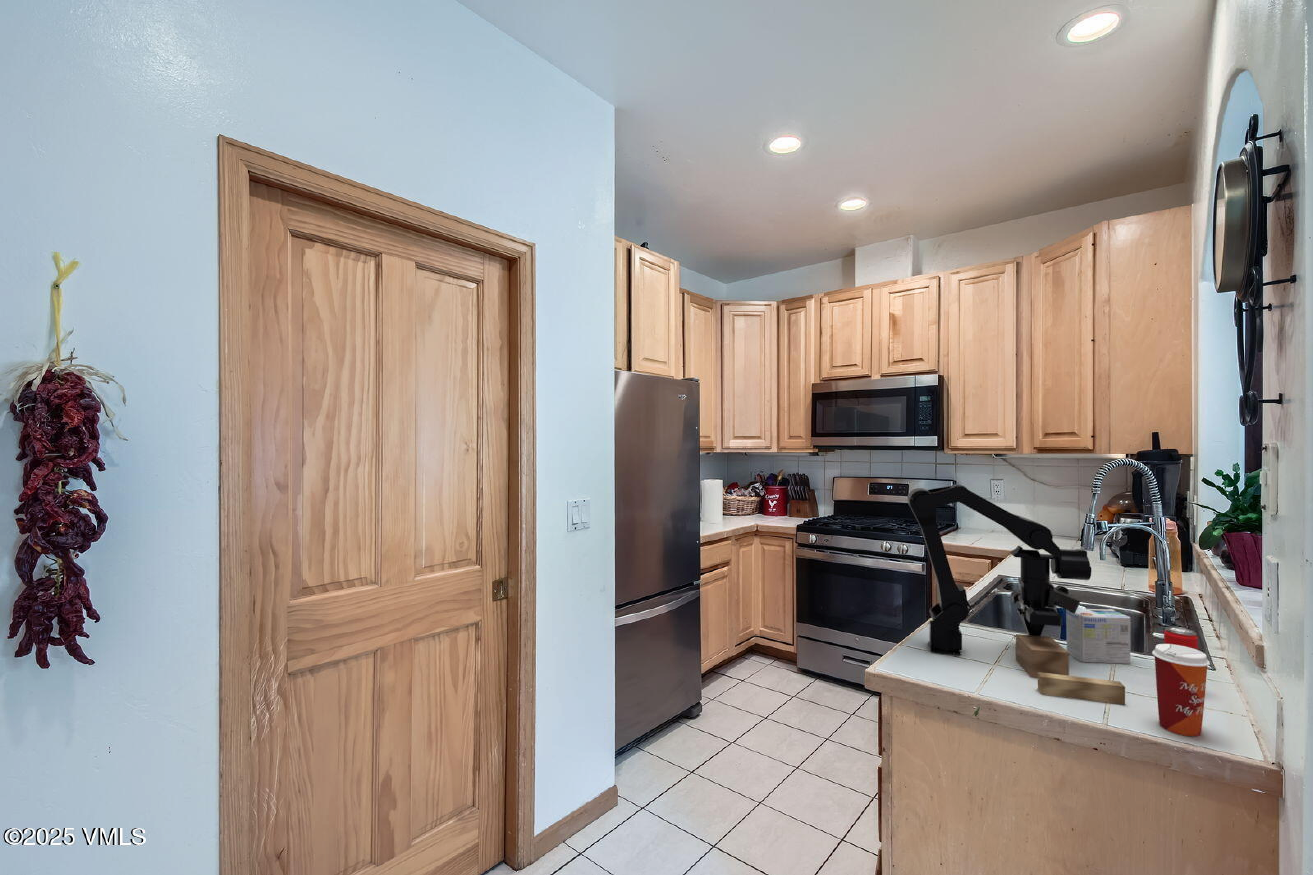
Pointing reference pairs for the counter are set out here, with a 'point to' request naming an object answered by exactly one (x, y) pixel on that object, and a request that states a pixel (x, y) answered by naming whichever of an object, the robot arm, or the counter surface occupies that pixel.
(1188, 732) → the paper cup
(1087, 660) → the light bulb box
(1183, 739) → the counter surface
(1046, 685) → the oak board
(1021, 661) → the walnut block
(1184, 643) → the beverage can
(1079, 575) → the robot arm
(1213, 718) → the counter surface
